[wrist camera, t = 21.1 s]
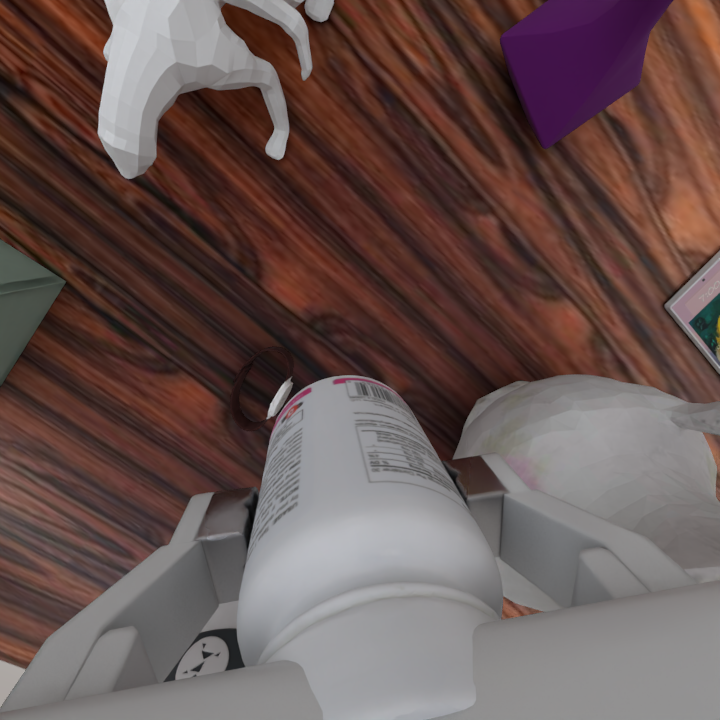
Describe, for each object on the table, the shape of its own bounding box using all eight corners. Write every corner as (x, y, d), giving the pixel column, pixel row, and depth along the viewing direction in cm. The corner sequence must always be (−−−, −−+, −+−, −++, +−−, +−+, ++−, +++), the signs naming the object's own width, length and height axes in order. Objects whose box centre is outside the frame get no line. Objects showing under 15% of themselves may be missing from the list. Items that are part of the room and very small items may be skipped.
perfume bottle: (477, 60, 26) (788, -277, 9) (569, -8, 25) (1096, -514, 8) (519, 159, 28) (825, 46, 11) (604, 100, 28) (1064, -116, 11)
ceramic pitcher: (449, 309, 33) (717, 499, 9) (650, 328, 34) (1337, 536, 10) (413, 503, 40) (513, 895, 16) (582, 512, 41) (902, 886, 17)
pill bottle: (306, 516, 13) (294, 968, 5) (246, 404, 11) (84, 804, 3) (431, 468, 13) (623, 840, 5) (389, 349, 11) (573, 613, 3)
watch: (271, 426, 33) (266, 448, 30) (222, 407, 32) (211, 428, 29) (307, 355, 31) (306, 369, 28) (256, 332, 30) (248, 344, 27)
